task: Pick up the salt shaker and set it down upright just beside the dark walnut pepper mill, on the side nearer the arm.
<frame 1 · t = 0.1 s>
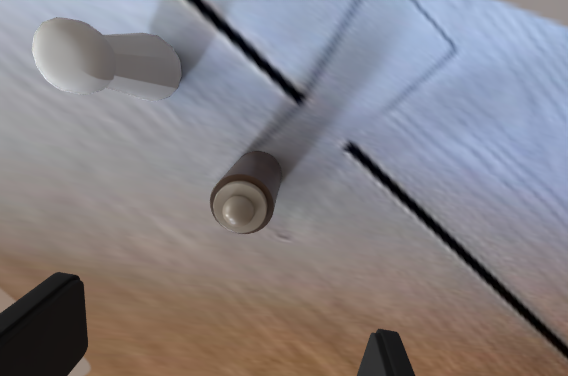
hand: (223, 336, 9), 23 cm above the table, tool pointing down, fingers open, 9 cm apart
salt shaker: (162, 70, 29), on the table
pepper mill: (257, 174, 32), on the table
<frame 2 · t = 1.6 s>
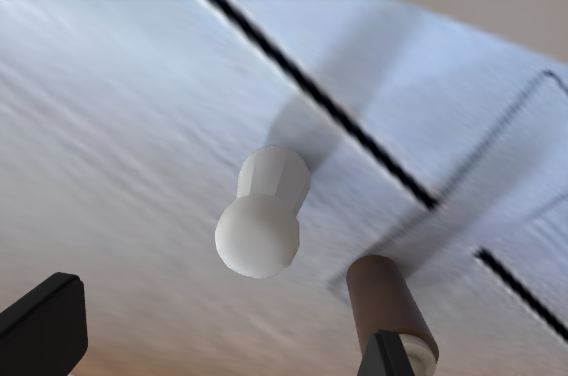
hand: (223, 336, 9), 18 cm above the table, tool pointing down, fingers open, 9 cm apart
salt shaker: (277, 171, 26), on the table
pepper mill: (372, 277, 29), on the table
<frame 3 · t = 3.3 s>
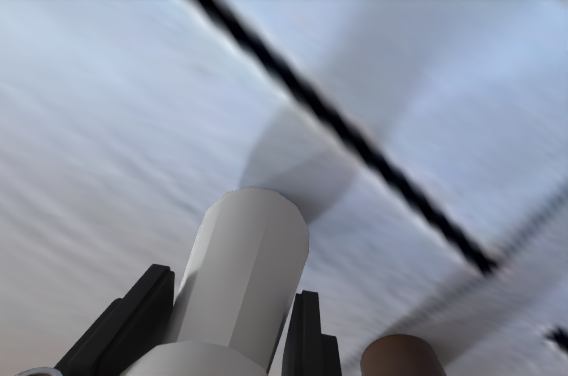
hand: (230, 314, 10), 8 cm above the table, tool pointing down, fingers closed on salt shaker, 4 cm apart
salt shaker: (261, 220, 18), on the table, touching gripper
pepper mill: (397, 363, 21), on the table
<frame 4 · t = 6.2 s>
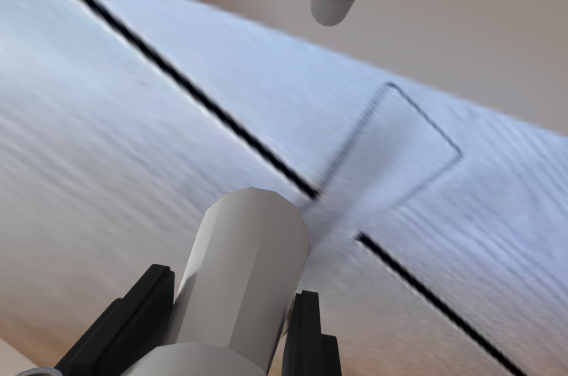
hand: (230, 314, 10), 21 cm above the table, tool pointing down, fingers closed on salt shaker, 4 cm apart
salt shaker: (260, 220, 18), point 13 cm above the table, touching gripper
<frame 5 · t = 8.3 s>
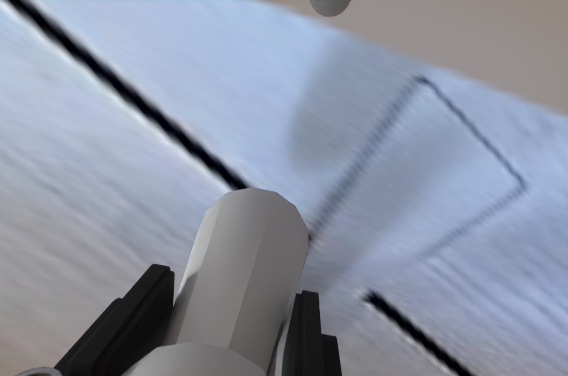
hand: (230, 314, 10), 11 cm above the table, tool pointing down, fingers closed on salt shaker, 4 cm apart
salt shaker: (260, 220, 18), point 3 cm above the table, touching gripper
when the fingers open (8 cm above the table, at t = 9.4 s): salt shaker stays where it is, on the table.
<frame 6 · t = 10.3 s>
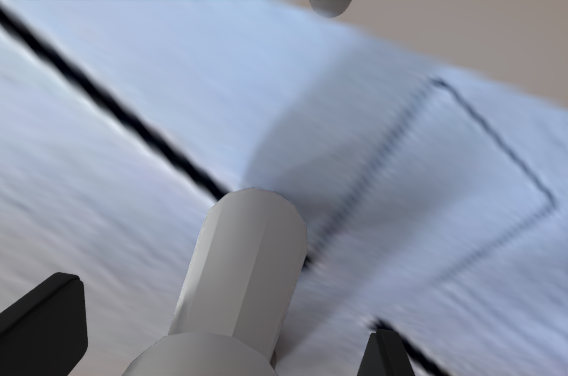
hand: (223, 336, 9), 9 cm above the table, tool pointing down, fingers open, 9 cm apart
salt shaker: (260, 220, 18), on the table
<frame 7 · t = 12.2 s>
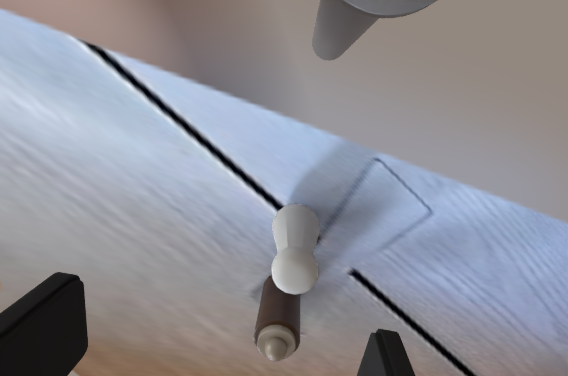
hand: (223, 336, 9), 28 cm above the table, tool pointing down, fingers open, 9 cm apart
salt shaker: (296, 218, 38), on the table
pepper mill: (281, 288, 41), on the table
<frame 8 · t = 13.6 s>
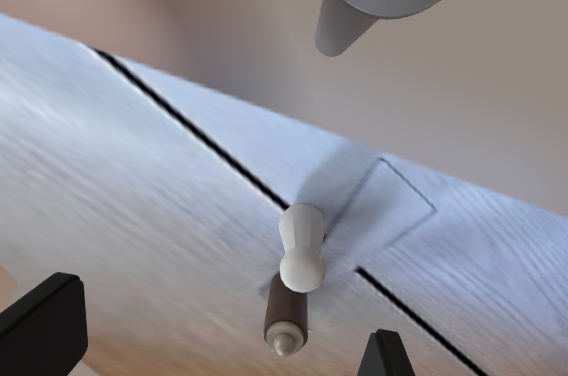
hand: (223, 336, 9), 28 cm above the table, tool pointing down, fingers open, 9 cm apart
salt shaker: (302, 217, 39), on the table
pepper mill: (288, 286, 42), on the table
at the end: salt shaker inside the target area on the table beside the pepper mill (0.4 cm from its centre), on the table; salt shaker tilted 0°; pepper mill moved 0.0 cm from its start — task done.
